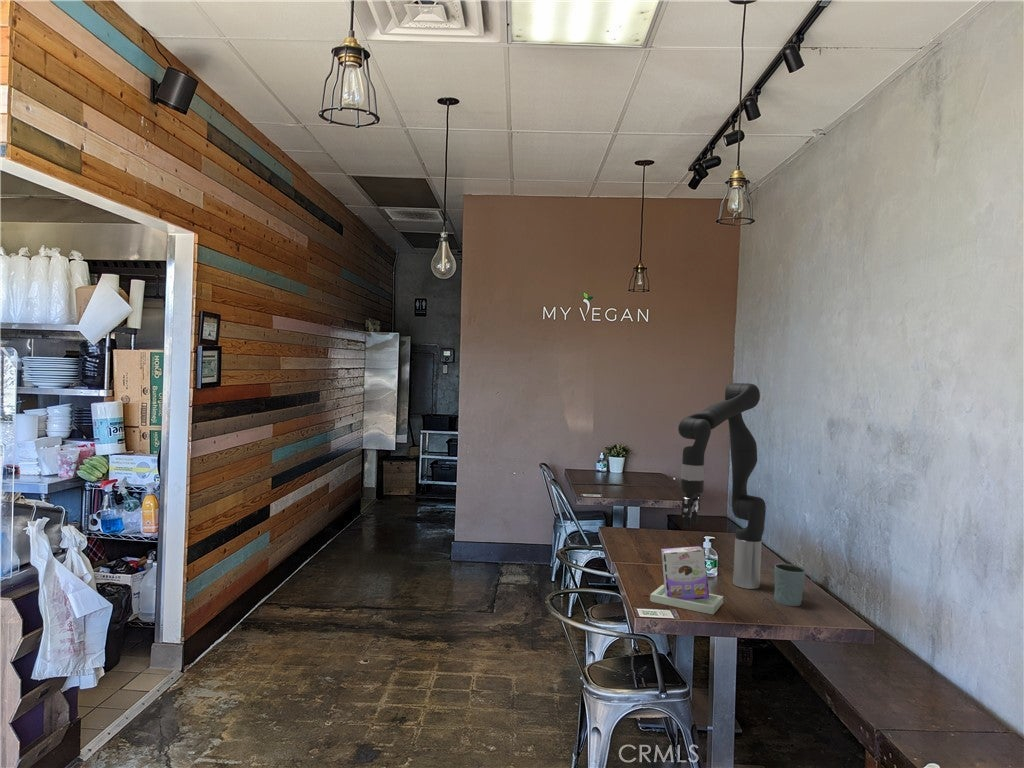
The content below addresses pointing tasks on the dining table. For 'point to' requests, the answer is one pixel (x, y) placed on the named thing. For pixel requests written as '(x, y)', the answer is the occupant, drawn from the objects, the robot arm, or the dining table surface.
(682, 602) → the tray
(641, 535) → the dining table surface
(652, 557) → the dining table surface
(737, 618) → the dining table surface
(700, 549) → the candy box
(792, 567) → the green cup
